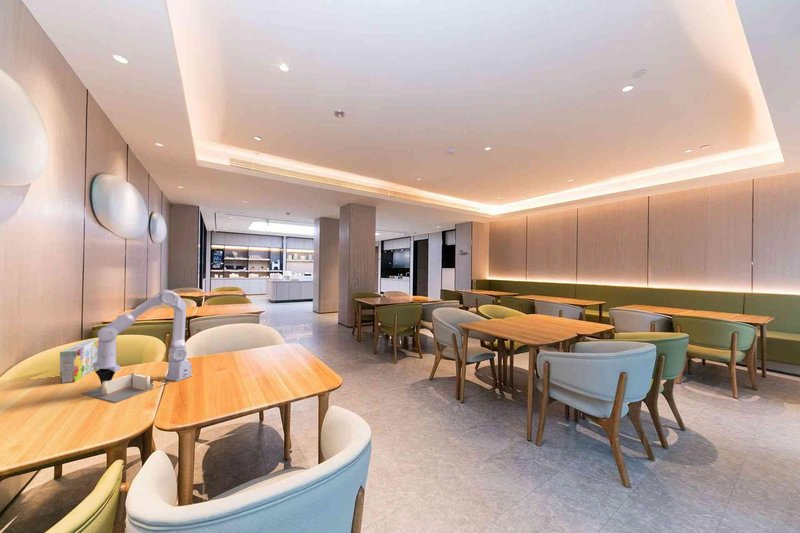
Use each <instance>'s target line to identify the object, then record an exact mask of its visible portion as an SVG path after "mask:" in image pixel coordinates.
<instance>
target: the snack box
mask: <svg viewBox="0 0 800 533" xmlns="http://www.w3.org/2000/svg"><path fill="white" fill-rule="evenodd" d="M98 341H99V338H96V339H87V340H83V341H81V342H79V343H77V344H75V345H73V346H70V347H68V348H66V349H64V350H62V351H59V360H60V361H59V368H60V369H59V374H60V375H59V376H60V377H59V378H60V379H59V381H60V382H59V384H60V383H61V384H67V383H66V382H69V383H75V382H77V381H79V380H80V379H82V378H83V377H85V376H86V375H85V374H84V373H88V374H90V373H91V372H92V371H94V370H95V369H94V367H93V363H95V362H97V350H98ZM89 372H90V373H89ZM78 379H79V380H78Z"/></svg>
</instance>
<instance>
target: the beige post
mask: <svg viewBox="0 0 800 533" xmlns="http://www.w3.org/2000/svg"><path fill="white" fill-rule="evenodd" d="M134 374H135V372H134V373H130V374H127V375H124V376H120V377H117V378H114V379H113V378H112V380H110V381H103V382H102V384H101V387H102V395H106V394H109V393H112V392H114V391H117V390H120V389H123V388H126V387H129V386H131V385H132V382H133V375H134Z"/></svg>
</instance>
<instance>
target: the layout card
mask: <svg viewBox="0 0 800 533" xmlns="http://www.w3.org/2000/svg"><path fill="white" fill-rule="evenodd" d="M154 380H155V379H153V378H150V389H152V388H153V386H154V385H153V384H152V383H153V381H154ZM164 382H165V385H164V386H166V385H167V384H169V382H166V381H164ZM150 389H149V391H151V390H150ZM152 390H153V389H152ZM145 391H147V392H149V391H148V390H144V389H140V388H136V387H132V385H131V386H129V387H126V388H123V389H120V390H117V391H114V392H112V393H109V394H106V395H102V386H100V387H96V388H94V389H90V390H87V391H83V392H81V395H84V396H88V397H92V398H96V399H98V400H99V399H100V400H102V401H107V402H111V403H114V404H115V403H119V402H121V400H122V401H124V399H125V400H127V399H129V397H130V398H132V396H133V397H135V396H134V395H136V396H138V395H141V394H143V392H144V393H146V392H145ZM140 393H141V394H140ZM137 394H138V395H137Z"/></svg>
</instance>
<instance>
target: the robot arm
mask: <svg viewBox="0 0 800 533" xmlns="http://www.w3.org/2000/svg"><path fill="white" fill-rule="evenodd" d="M162 304H164V305H168V306H170V307H171V308H173V325H172V338H171V339H172V340H171V344H170V347H169V349H168V355H170V356H169V358H168V364H167V365H168V366H167V369H168V370H167V372H168V373H167V375H166V376H164V377H165V378H166V379H165V380H169V381H175V382H179V381H182V380H184V379H187V378H189V377H193V376H194V374H193V373H192V362H191V361H190V360H189V359H188V357H187V355H188V350H187V348H186V340H185V336H186V321H187V320H186V319H187V303H186V302H184V300H183V298H181V296H180V295H179V294H178V293H176V292H174V291H172V290H170V289H163V290H161V291H160V292H158V293H156V294H153V295H151V297H149V298H148V299H147V300H145V301H144V302H143V303H142V304H140V305H139V306H137V307H136V308H134V310H132V311H131V312H129V313H123V314H118V316H116V317H117V318H115V319H114V320H113V321H112V322H110V323H106V324H105V326H104V327H103V326H102V328H100V329H98V332H97V339H99V341H98V350H97V362H95V363H93V367H94V370H95V374H96V375H97V376H98V378H99V381H100V384H101V385H102V382H103V381H110V380H113V377H114V375H115V373H116V372H120V371H121V366H120V365H119V364H118V363H117V342H116V338H117V337H118V334H121V333H123V332H124V331H125V330H126V329H128V328H129V327H131V326H133V324H134V323H136V319H137V318H138V317H140V316H141V315H142V314H144V313H146V312H147V311H149V310H150V309H151V308H153V307H156V306H162Z"/></svg>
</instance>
